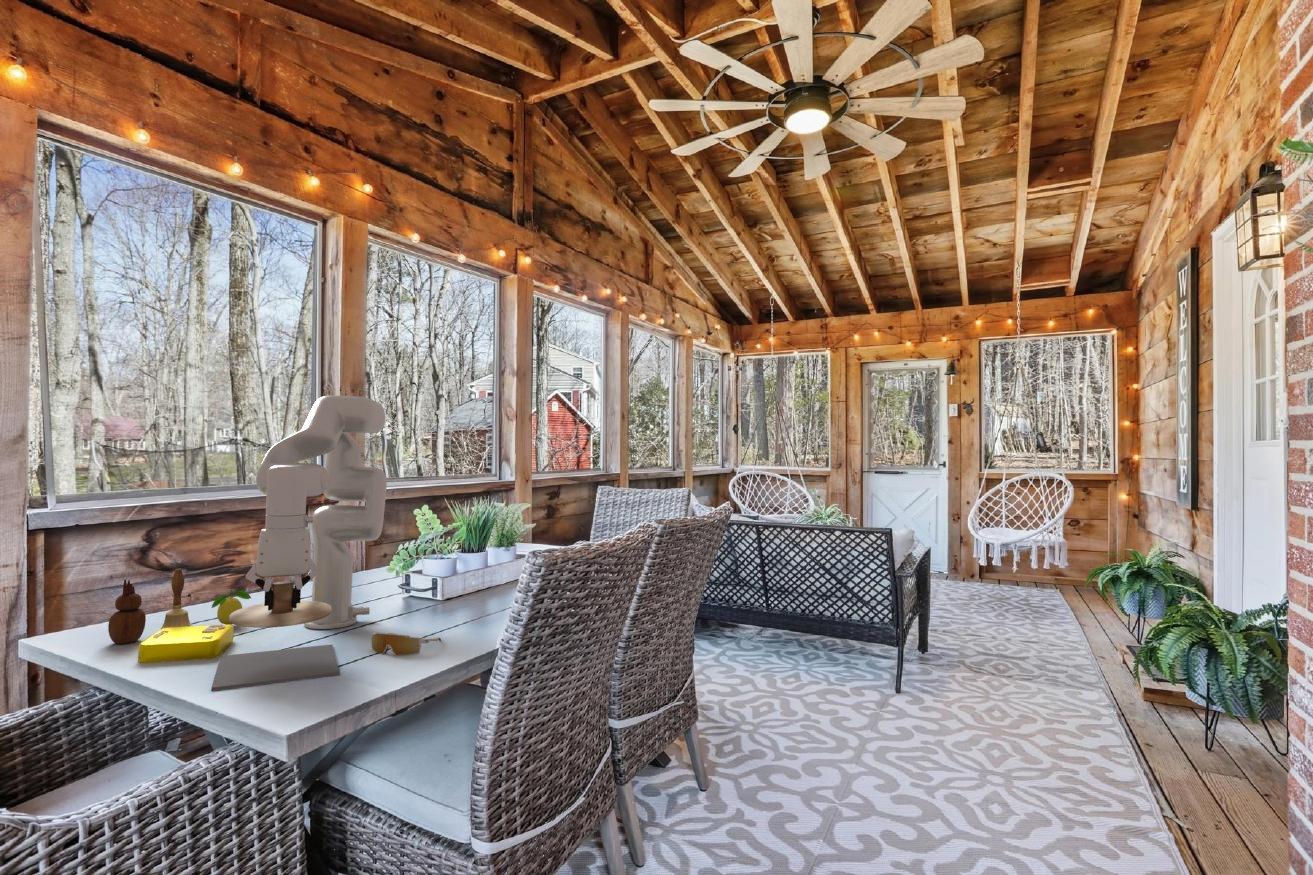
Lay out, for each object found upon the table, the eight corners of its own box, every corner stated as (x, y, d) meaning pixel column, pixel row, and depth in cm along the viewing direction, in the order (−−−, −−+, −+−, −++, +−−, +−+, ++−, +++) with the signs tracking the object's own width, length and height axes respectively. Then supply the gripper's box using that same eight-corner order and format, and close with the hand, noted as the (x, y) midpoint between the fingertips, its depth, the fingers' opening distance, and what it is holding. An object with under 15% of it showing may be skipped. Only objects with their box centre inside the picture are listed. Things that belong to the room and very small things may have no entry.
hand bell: (151, 639, 155) (155, 572, 156) (158, 631, 162) (162, 567, 163) (193, 636, 159) (197, 570, 159) (199, 628, 166) (202, 565, 167)
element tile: (160, 646, 152) (161, 625, 152) (235, 641, 157) (236, 621, 157) (134, 665, 138) (135, 642, 138) (217, 660, 143) (218, 638, 143)
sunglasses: (358, 653, 150) (361, 631, 151) (396, 645, 164) (398, 625, 165) (415, 659, 147) (417, 636, 148) (447, 650, 162) (450, 629, 162)
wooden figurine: (121, 647, 149) (125, 581, 149) (101, 644, 150) (105, 579, 151) (150, 639, 155) (153, 576, 156) (130, 637, 157) (134, 574, 157)
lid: (328, 600, 153) (329, 571, 153) (334, 621, 136) (335, 588, 136) (231, 608, 143) (233, 577, 143) (226, 632, 127) (227, 597, 127)
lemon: (250, 623, 172) (251, 585, 172) (235, 629, 166) (236, 590, 166) (225, 623, 172) (227, 584, 172) (209, 628, 166) (211, 589, 166)
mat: (332, 646, 154) (332, 644, 154) (339, 674, 135) (339, 671, 135) (220, 658, 143) (220, 655, 143) (211, 690, 124) (211, 687, 124)
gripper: (328, 519, 147) (324, 600, 147) (240, 521, 139) (237, 607, 139) (330, 523, 141) (326, 608, 141) (238, 526, 133) (234, 616, 132)
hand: (282, 606), depth 140 cm, fingers closed on lid, 4 cm apart
